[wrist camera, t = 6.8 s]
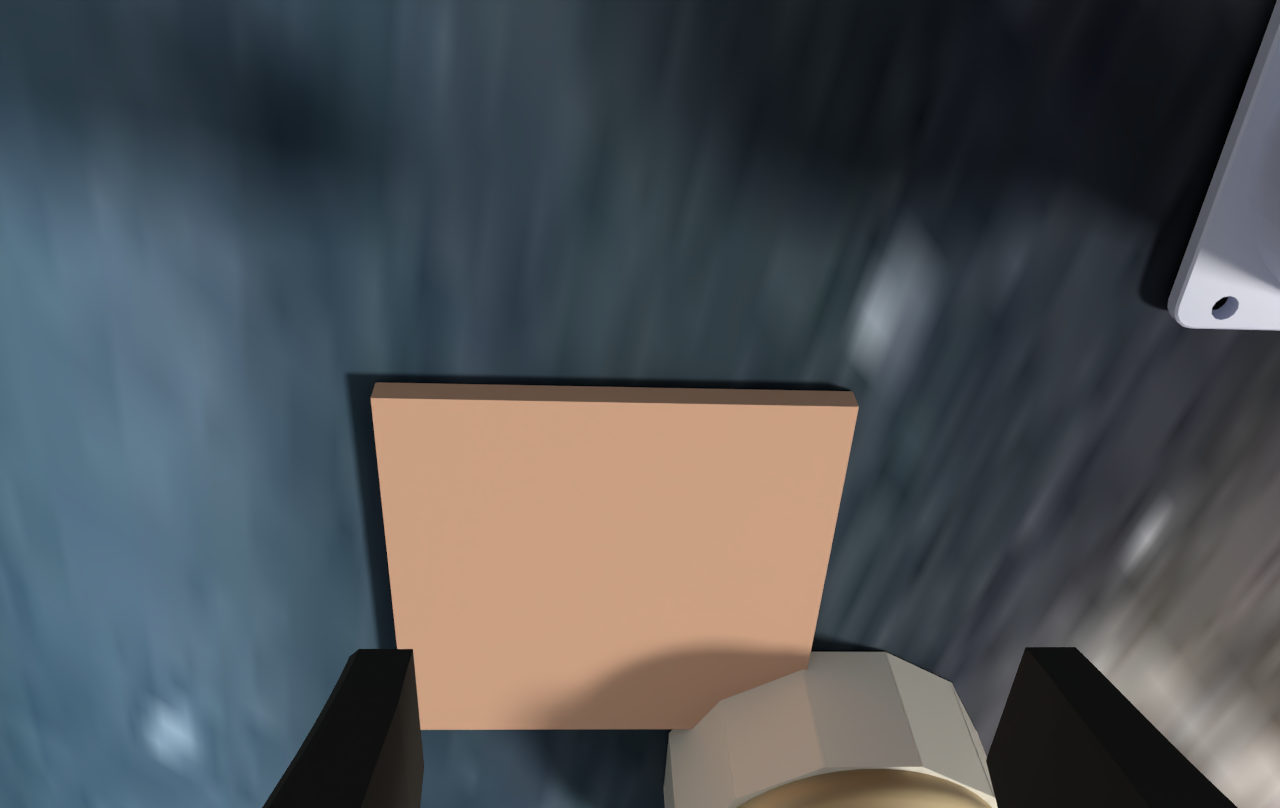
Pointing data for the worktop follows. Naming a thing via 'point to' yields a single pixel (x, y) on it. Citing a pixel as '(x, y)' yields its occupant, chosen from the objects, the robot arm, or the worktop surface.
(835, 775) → the bamboo lid
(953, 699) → the bowl
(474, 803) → the worktop surface
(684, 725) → the mat
